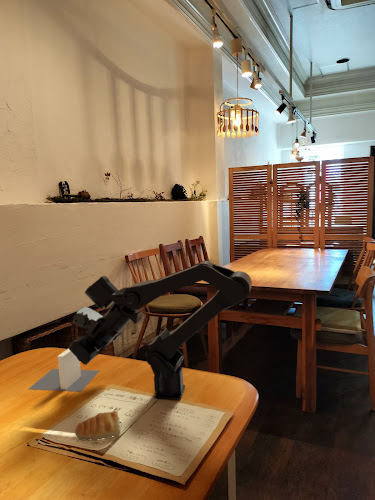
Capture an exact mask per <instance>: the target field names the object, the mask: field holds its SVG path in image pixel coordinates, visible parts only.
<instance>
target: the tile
mask: <svg viewBox="0 0 375 500" xmlns="http://www.w3.org/2000/svg"><path fill="white" fill-rule="evenodd" d="M57 364H58V369H59V376H60V387H61V389H67V388H68V387H70V386H71V385H72V384H73V383H74V382H75V381H76V380H77V379H79V378H80V377H81V370H82V368H81V361H79V360H78V359H77V357H76V356H75V355H74V354H73V353H72V352H71V351H70V350H69V347H68V348H67V349H66V350H64V351H63V352H62V353H60V354H59V355H57Z"/></svg>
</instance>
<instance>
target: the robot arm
mask: <svg viewBox="0 0 375 500" xmlns="http://www.w3.org/2000/svg"><path fill="white" fill-rule="evenodd" d="M199 282H205V283H207V284H209V286H211V287H213V288H214V289H216V290H217V292H216V293H215V294H214V295H213V296H212V297H211V298H210V299H209V300H207V301H206V302H205V303H204V304H203V305H202V306H201V307H199V308H198V309H197V310H195V312H194V313H193V314H192V315H190V316H189V317H188V318H187V319H186V320H185V321H183V322H182V323H181V324H180V325H179V326H178V327H176V328H175V329H173V330H171V331H169V330H168V328H167V327H165V329H164V330H163V331H162V332H161V333H160V334H159V335H156V336H155V337H153V339H152V340H151V341H150V342H149V344H148V345H147V347H148V348H147V350H146V351H145V360H146V362H147V364H148V365H149V366H150V368H151V370H152V374H153V375H154V376H153V386H154V392H155V395H154V398H155V399H162V400H163V399H164V400H181V399H182V397H183V394H184V391H185V389H186V385H185V384H184V375H183V374H184V373H183V366H181V365H182V363H183V362H184V359H185V355H184V354H183V353H182V352H181V351H180V349H179V348H180V347H181V346H182V345H184V343H186V342H187V341H188V340H189V339H191V338H192V337H193V336H194V335H195V334H196V333H198V332H199V331H200V330H201V329H203V328H204V327H205V326H206V325H207V324H208V323H209V322H211V321H212V320H213V319H214V318H215V317H216V316H217V315H219V314H220V313H221V312H223V311H224V310H227V309H229V308H232V307H234V306H235V305H238V304H239V303H241V302H243V301H244V300H245V299H247V298H248V296H249V294H250V292H251V290H252V288H253V287H252V285H253V282H252V278H251V276H250V274H249V275H248V273H247V272H245V271H242V270H241V271H240V270H236V271H234V270H232V269H230V268H227V267H223V266H220V265H219V264H218V265H217V264H214V263H213V262H211V261H209V260H204V261H201V262H200V263H198V264H196V265H193V266H191V267H188V268H186V269H183V270H180V271H178V272H175V273H173V274H169V275H167V276H164V277H162V278H158V279H149V280H144V281H139V282H136V283H134V284H133V285H131V286H128V287H127V286H125V287H122V288H121V289H118V288H117V287H116V286H115V285H114V284H113V283H112V282H111V280H110V279H109V278H108V277H107V276H106V275H105V274H104V275H102V276H100V277H99V278H98V279H97V280H96V281H95V282H93V283H92V284H91V285H89V286H88V287H87V288H86V290H85V291H84V294H85V295H86V296H87V297H88V298H89V299H90V300H91V301H92V302H93V304H95V306H97V308H99V310H102V309H105V310H107V309H108V311H107V312H105V313H104V315H102V314H100V313H99V312H97V311H95V310H94V309H92V308H90V307H86V306H84V307H83V308H80V309H79V310H77V312H76V313H75V315H74V316H73V317H72V319H73V323H74V325H76V326H78V327H79V328H84V329H87V330H86V331H85V332H86V334H87V336H86V335H84V336H81V335H80V336H78V337H77V338H76V339H74V340H73V341H72V342H71V343H70V344H69V345H68V346H67V347H68V348H69V350H70V351H71V352H72V353H73V354H74V355H75V356H76V357H77V359H78V360H79V361H80V363H82V364H83V365H85V366H87V365H88V364H89V363H90V362H92V360H94V359H95V358H96V357H97V356H98V355H100V354H101V352H102V351H104V350H105V349H106V348H108V345H109V344H110V343H111V342H115V341H116V340H117V339H118V338H119V337H120V336H121V335H122V334H123V333H122V332H123V330H124V328H125V327H126V326H127V325H128V323H129V322H130V321H132V323H133V324H134V325H136V324H138V323H139V322H140V321H142V319H143V317H142V311H141V310H140V309H142V308H143V307H145V306H148V304H149V303H152V302H153V301H155V300H156V299H158V298H159V297H161V296H164V295H166V294H169V293H172V292H174V291H177V290H179V289H180V290H181V289H183V288H186V287H188V286H191V285H194V284H196V283H199ZM109 308H110V309H109Z"/></svg>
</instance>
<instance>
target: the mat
mask: <svg viewBox="0 0 375 500" xmlns="http://www.w3.org/2000/svg"><path fill="white" fill-rule="evenodd" d="M99 372H100V370H97V369H96V370H95V369H94V370H93V369H92V370H91V369H81V377H80V378H79V379H77V380H76V381H75V382H74V383H73V384H72V385H71V386H70V387H68V388H67V389H61V387H60V376H59V368H52V369H50V370H49V371H48V372H47V373H46V374H44V375H43V376H42V377H41V378H39V379H38V380H37V381H36V382H35V383H34V384H33V385H31V386H29V388H28V390H34V391H36V390H37V391H38V390H39V391H58V392H74V393H75V392H76V393H77V392H78V393H82V391H84V389H85V388H86V387H87V385H89V384H90V382H91V381H92V380H93V379H94V378H95V377H96V376H97V375H98V373H99Z"/></svg>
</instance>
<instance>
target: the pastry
mask: <svg viewBox="0 0 375 500" xmlns="http://www.w3.org/2000/svg"><path fill="white" fill-rule="evenodd" d="M120 423H121V421H120V417H119V413H118V411H117V410H116V409H114V410H113V411H107V412H106V411H105V412H99V413H97V414H96V415H94V416H92V417H90V418H87V419H85V420H83V421H82V422H80V423H79V424H77V426H76V429H75V431H74V434H75V437H77V438H78V439H79V440H81V439H83V440H82V441H85V440H84V439H89V440H90V439H92V440H90V441H98V440H97V439H99V440H103V439H102V438H106V439H109V438H108V437H112V436H115V437H118V436H120V434H121V424H120ZM117 435H118V436H117ZM112 438H113V437H112Z"/></svg>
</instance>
